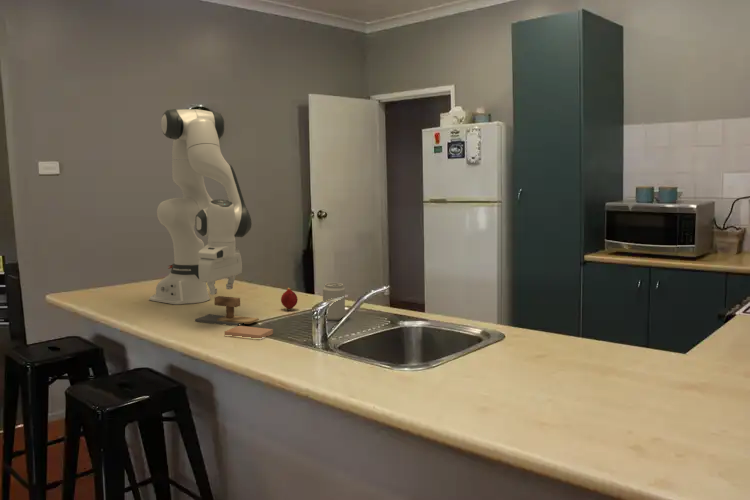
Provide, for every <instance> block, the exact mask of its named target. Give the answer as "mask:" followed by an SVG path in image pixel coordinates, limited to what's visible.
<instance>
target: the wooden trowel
mask: <svg viewBox="0 0 750 500" xmlns="http://www.w3.org/2000/svg"><path fill="white" fill-rule="evenodd" d="M214 306H219V307H225V315H223V317H221V318H218V319H217V321H226V322H235V323H244V324H246V325H250V324H253V323H255V322H258V321H259V320H260V318H259V317H249V316H241V315H235V308H237V307H240V306H241V297H234V296H224V295H223V296H222V295H218V296H215V297H214ZM244 324H243V325H244Z"/></svg>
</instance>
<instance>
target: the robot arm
mask: <svg viewBox="0 0 750 500" xmlns="http://www.w3.org/2000/svg"><path fill="white" fill-rule="evenodd" d="M160 126H161V127H160V128H161V130H162V133H163V135H164V136H165V137H166V138H168V139H171V140H173V141H172V149H171V150H172V153H171V157H172V158H171V166H172V167H171V170H172V172H171V173H172V174H171V175H172V177H171V178H172V181H173V183H174V184H175V185H176V186H178V187H179V188H180V190H181V193H182V197H172V198H168V199H166V200H163V201H161V202H160V203H159V204H158V206H157V209H156V216H157V219H158V221H159V223H160V225H162V226H163V227H165V228H166V230H167V232H168V233H169V235H170V237H171V240H172V244H173V258H174V260H173V261H174V262H173V263H172V264H171V265H169V266H168V268H167V269H170V272H169V274H168V275H166V276H165V277H164V278H163V279H161V280H160V281H159V282H157V284H156V289H155V294H153V295H150V296H149V299H148V300H149V301H153V302H158V303H159V302H160V303H164V304H171V305H183V304H185V305H186V304H198V303H203V302H207V301H209V300H211V299H210V295H212V296H214V295H217V294H218V292H217V291H218V288H216V286H215V285H216V281H220V280H223V279H227V283H226V284H225V288H226V290H233V289H234V283H235V281H236V276H237V275H242V271H243V260H242V255H241V253H240V252H241V251H240V249H239V248H238V247H236V238H244V237H245V236H247V234H248V233H250V231H251V229H252V226H253V225H252V218H251V214H250V213H249V210H248V208H247V206H246V203H245V200H244V196H243V194H242V190H241V187H240V183H239V181H238V177H237V175H236V173H235V170H234V167H233V165H232V164H231V163H229V162H227V160H226V159H225V158H224V155H223V154H222V150H221V146H220V140H219V139H221V138H222V137H223V135H224V133H225V126H226V125H225V120H224V116H223V115H222V114H221V113H220V112H218V111H213V110H203V109H197V108H196V109H195V108H193V109H188V108H187V109H176V108H172V109H171V108H170V109H167V110H165V111H164V113H163V114H162V117H161V122H160ZM205 177H206V178H209V179H212V180H214V181H216V182H217V183H219V184H221V185H222V186H223V188H224V190H225V192H226V196H227V200H226V199H221V198H220V199H213V198H212V197H211V196H210V194H209V193H208V191H207V188H206V184H205ZM196 232H197V233H198V234H199V235H201V236H202V237H206V238H207V244H205V243H204V241H203V240H202V239H201V238H200V237H198V236H197V234H196ZM208 289H209V291H208Z"/></svg>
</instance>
